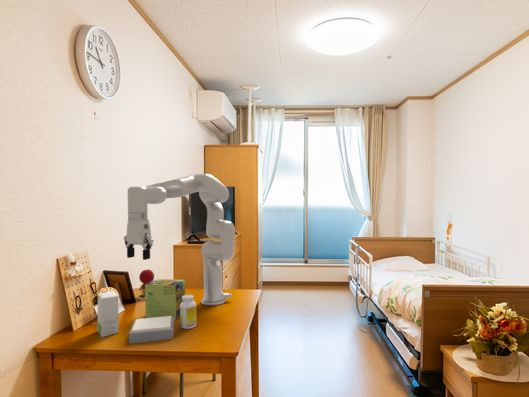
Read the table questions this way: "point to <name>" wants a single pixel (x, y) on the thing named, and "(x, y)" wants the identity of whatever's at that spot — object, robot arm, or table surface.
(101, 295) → the skincare box
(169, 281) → the protein box
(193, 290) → the table surface
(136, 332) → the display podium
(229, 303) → the table surface
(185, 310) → the supplement bottle
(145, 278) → the figurine
